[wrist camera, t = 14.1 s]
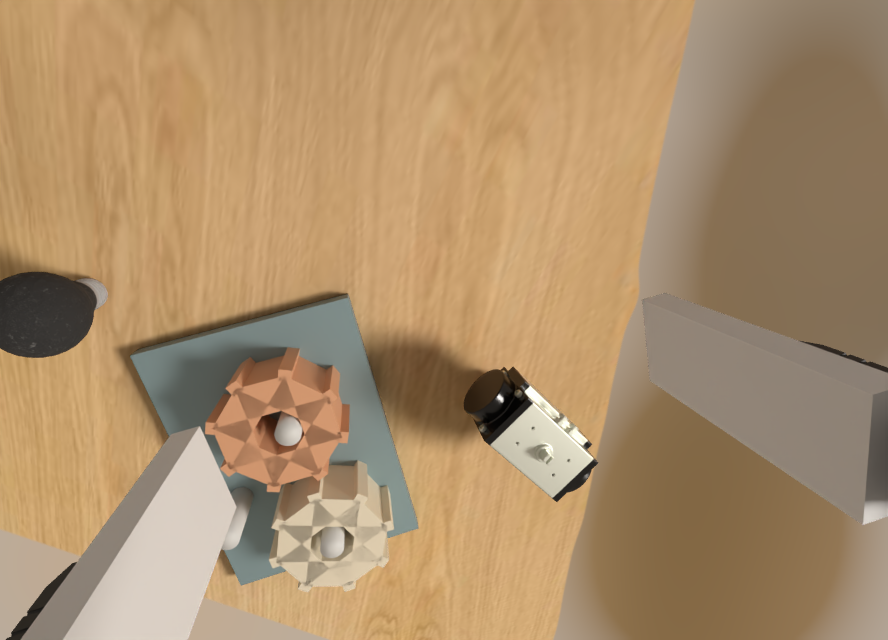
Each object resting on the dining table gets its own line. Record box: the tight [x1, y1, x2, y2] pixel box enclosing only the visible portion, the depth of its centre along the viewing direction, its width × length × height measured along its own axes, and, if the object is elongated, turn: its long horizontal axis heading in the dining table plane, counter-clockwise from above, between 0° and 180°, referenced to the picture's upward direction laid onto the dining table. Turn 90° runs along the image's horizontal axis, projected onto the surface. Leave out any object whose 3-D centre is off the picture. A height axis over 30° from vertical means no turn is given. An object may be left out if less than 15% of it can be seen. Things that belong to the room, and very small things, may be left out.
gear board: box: [130, 294, 418, 592], centre depth 41 cm, size 25×18×7 cm
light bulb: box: [0, 272, 108, 358], centre depth 33 cm, size 6×6×10 cm
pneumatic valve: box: [464, 367, 598, 502], centre depth 41 cm, size 6×12×12 cm, turn 45°
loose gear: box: [205, 347, 350, 492], centre depth 39 cm, size 10×10×5 cm
